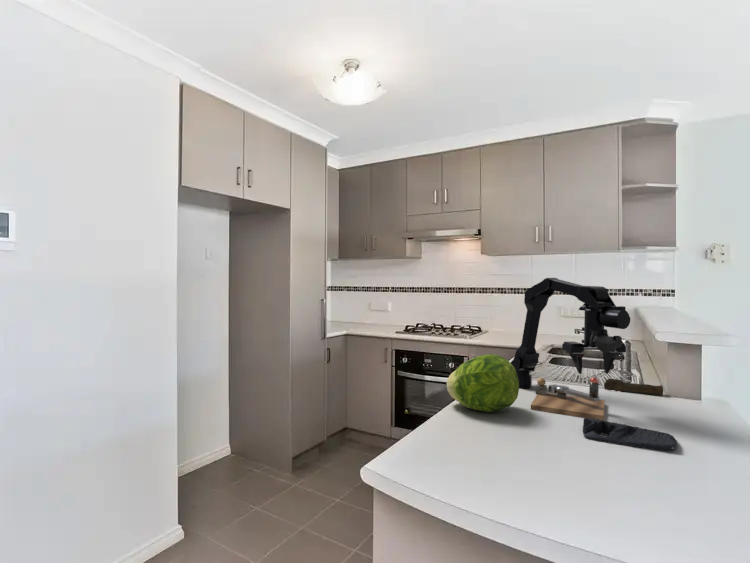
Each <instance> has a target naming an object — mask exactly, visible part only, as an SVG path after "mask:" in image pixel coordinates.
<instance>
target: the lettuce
mask: <svg viewBox="0 0 750 563" xmlns="http://www.w3.org/2000/svg"><path fill="white" fill-rule="evenodd" d="M519 389H520V388H519V380H518V376H517V373H516V370H515V368H514V366H513V365H512V364H511V361H509V360H508V359H506V358H505V357H504V356H501V355H499V354H493V353H490V354H489V353H487V354H484V355H479V356H475V357H473V358H471V359H468V360H467V361H465V362H463V363H461V364H460V365H459V366H458V367H457V368H456V369H455V370H454V371H452V372H451V373H450V375H449V376H448V378H447V379H446V390H447V393H448V394H449V395H450V396H451V398H452V399H453V400H455V401H456V402H457V403H459V404H460V405H461V406H464V407H465V408H468V409H470V410H473V411H476V412H477V411H478V412H484V413H497V412H500V411H502V410H504V409H507V408H508V407H511V406H512V405H513V404H514V403H515V401H516V400H517V399H518V396H519V391H520V390H519Z"/></svg>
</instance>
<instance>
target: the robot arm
mask: <svg viewBox="0 0 750 563" xmlns="http://www.w3.org/2000/svg"><path fill="white" fill-rule="evenodd" d="M555 292H560V293H562V294H565V295H566V294H567V295H569V296H572V297H575V298H577V299H578V301H580V302H582V303H583V305H581V306H579V307H578V310H579V311H584V320H583V321H584V325H583V327H581V331H583V332H584V333H583V339H581V342H578V341H564V342H563V343H562V345H561V346H562V347H561V350H562V351H564V352H565V353H566V354H569V356H570V358H571V360H572V361H573V364H574V366H575V368H576V371H577V373H578V374H579V375H582V372H583V359H584V358H583V357H584V356H585V353H583V352H584V351H586V350H587V351H592V350H593V351H594V350H595V351H596V350H599V351H600V352H602V358H603V369H604V373H605V374H609V373H610V370H611V368H612V366H613V364H614V361H615V360H616V358H617V357H619V356H623V353H627V346H626V344H625V343H624V342H623V338H622V336H620V335H613V336H612V335H611V336H609V334H608V333H609V332H608V329H606V328H611V329H612V328H613V329H619V330H625V329H627V328H628V327H629V325H630V323H631V317H630V313H629V312H628V311H627V310H626V306H623V305H621V306H617V305H616V304H615V303H614V300H613V299H612V297H611V296H610V295H609V291H608V289H607V287H605V286H600V285H599V286H598V285H581V284H578V283H574V282H570V281H567V280H563V279H559V278H558V277H546V278H544V279H543V280H541V281H540V282H539V283H536V284H535V285H532V286H531V287H529V288H527V289H526V290H525V292H524V297H523V298H524V300H523V301H524V306H525V308H526V314H525V322H524V328H523V333H522V339H521V344H520V346H518V348H517V350H516V351H515V354H514V356H513V359H512V361H510V363H511V364H512V365H513V366H514V368H515V370H516V373H517V376H518V380H519V389H527V390H528V389H530V388H531V387H532V385H533V375H532V374H531V372H535V369H536V367H537V365H538V364H539V358H540V353H539V352H537V350H536V342H537V337H538V330H539V324H540V321H541V314H542V312H543V310H544V309H545V308H546V306H547V305H548V302H549V298H551V297H552V296H553V295H554V294H555ZM605 327H606V328H605Z"/></svg>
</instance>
